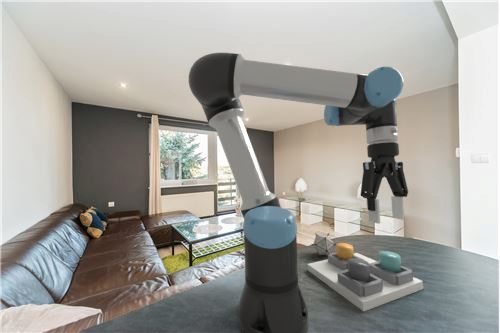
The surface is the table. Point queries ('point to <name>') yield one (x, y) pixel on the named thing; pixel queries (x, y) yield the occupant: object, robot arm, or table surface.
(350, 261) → the charcoal button
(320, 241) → the grey spiky polyhedron
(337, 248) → the orange button
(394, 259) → the teal button
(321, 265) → the panel
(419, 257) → the table surface
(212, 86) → the robot arm
